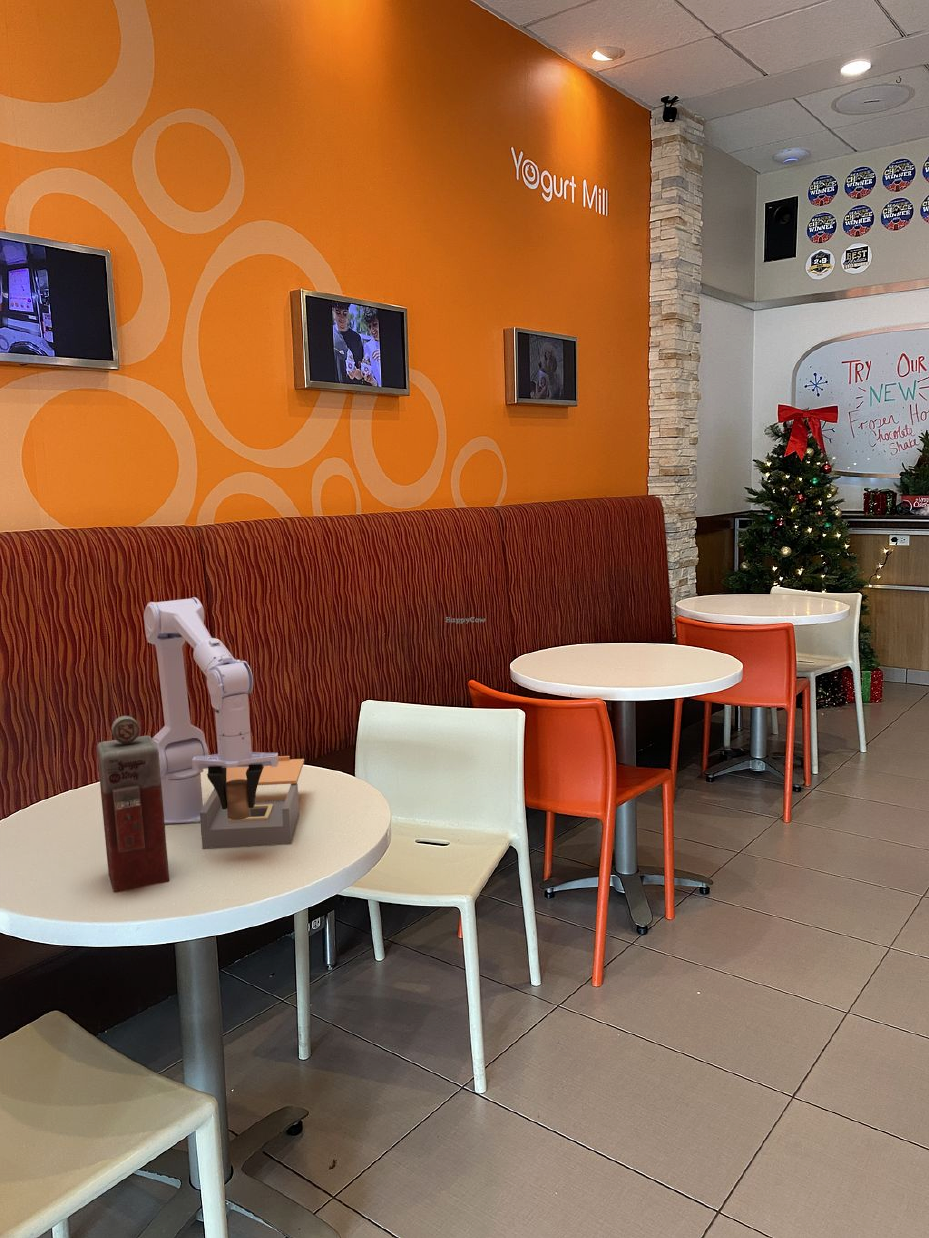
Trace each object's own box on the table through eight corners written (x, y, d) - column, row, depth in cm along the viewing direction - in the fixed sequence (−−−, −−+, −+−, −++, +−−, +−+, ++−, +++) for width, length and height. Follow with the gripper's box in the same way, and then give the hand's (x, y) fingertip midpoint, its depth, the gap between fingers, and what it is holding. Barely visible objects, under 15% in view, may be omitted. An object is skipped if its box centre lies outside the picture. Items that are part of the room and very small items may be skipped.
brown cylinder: (225, 820, 163) (223, 787, 162) (229, 812, 167) (227, 779, 166) (248, 819, 163) (246, 786, 162) (252, 810, 167) (250, 778, 166)
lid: (213, 787, 182) (213, 780, 182) (227, 765, 196) (226, 758, 196) (296, 783, 183) (296, 776, 183) (304, 761, 197) (303, 755, 197)
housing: (202, 848, 171) (199, 812, 170) (217, 820, 185) (215, 787, 183) (290, 843, 172) (288, 808, 171) (299, 816, 185) (297, 783, 184)
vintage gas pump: (114, 898, 152) (99, 730, 147) (108, 872, 162) (93, 714, 157) (171, 886, 155) (158, 722, 151) (162, 861, 165) (149, 707, 161)
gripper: (185, 740, 158) (191, 816, 160) (272, 736, 159) (277, 812, 161) (194, 728, 165) (200, 802, 167) (277, 725, 166) (282, 798, 168)
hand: (238, 806), depth 165 cm, fingers closed on brown cylinder, 4 cm apart
